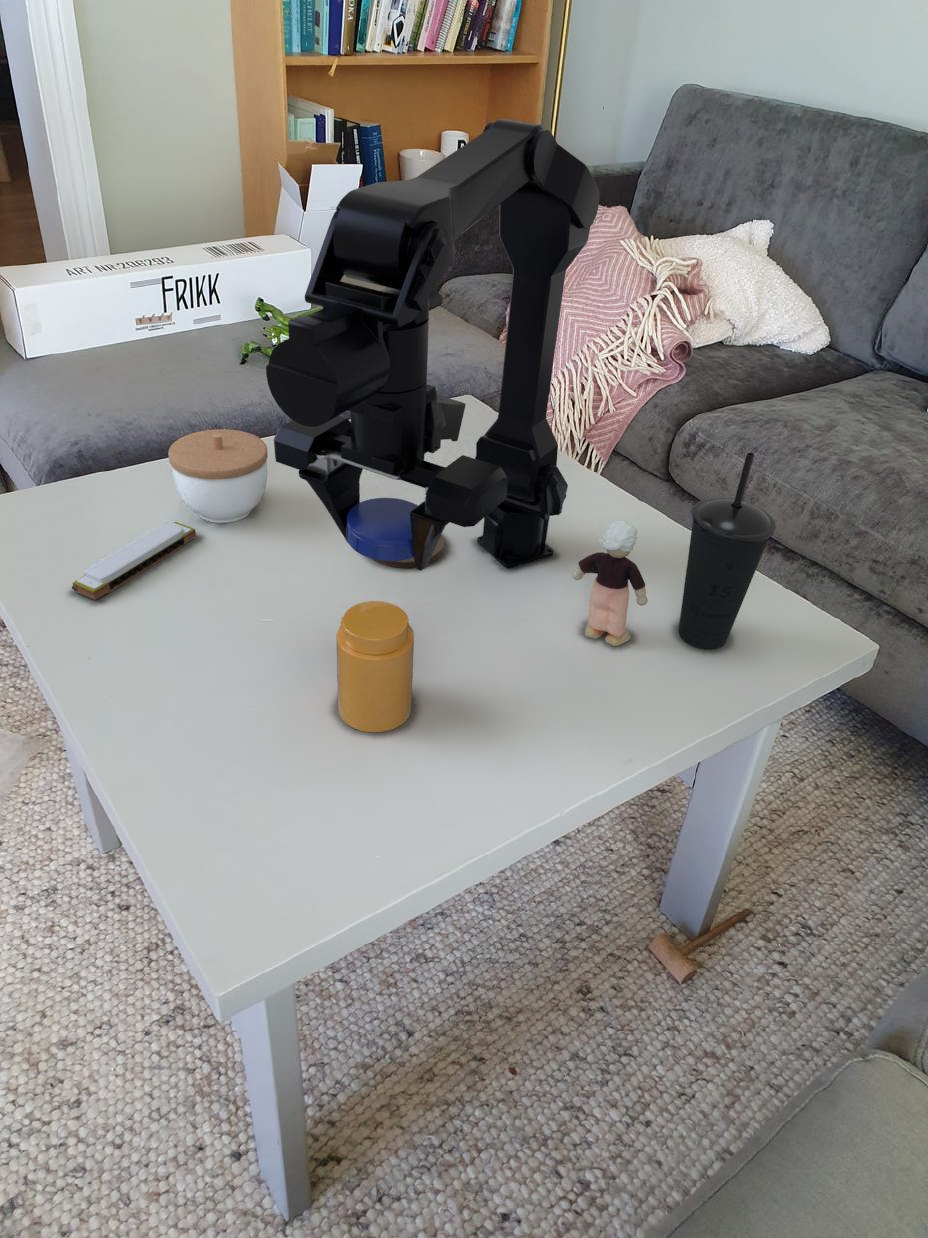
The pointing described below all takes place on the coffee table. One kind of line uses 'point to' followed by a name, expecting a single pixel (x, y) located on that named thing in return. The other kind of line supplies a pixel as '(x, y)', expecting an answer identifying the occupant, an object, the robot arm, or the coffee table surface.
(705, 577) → the drinking cup
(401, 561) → the coaster
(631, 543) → the grandmother figurine
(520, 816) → the coffee table surface
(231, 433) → the trinket box
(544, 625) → the coffee table surface
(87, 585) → the harmonica
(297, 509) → the coffee table surface
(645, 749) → the coffee table surface
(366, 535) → the lid
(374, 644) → the jar
